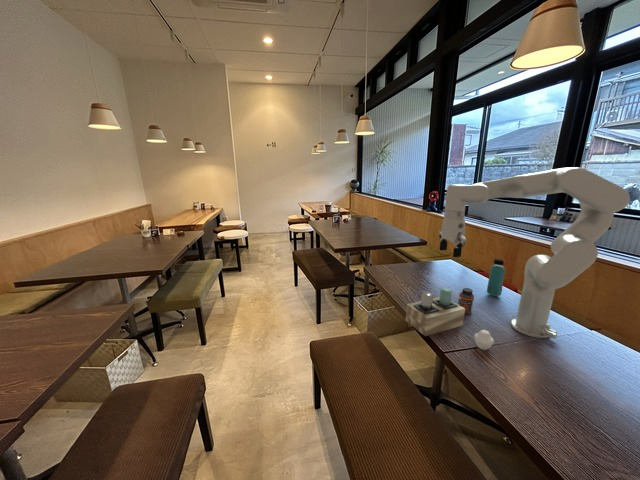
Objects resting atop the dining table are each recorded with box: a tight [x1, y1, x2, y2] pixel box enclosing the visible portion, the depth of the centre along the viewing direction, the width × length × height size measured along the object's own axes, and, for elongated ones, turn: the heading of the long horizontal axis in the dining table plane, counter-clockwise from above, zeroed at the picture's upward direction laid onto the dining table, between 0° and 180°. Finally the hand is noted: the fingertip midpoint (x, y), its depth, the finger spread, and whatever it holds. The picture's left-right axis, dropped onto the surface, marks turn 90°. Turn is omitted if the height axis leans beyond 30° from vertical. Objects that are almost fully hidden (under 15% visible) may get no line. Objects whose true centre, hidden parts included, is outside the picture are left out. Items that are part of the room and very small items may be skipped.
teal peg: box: [439, 287, 453, 307], centre depth 110 cm, size 4×4×8 cm
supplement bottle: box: [457, 287, 475, 315], centre depth 118 cm, size 6×6×11 cm
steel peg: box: [420, 291, 434, 311], centre depth 107 cm, size 4×4×8 cm
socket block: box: [405, 296, 466, 337], centre depth 110 cm, size 12×20×9 cm, turn 110°
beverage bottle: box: [486, 258, 506, 297], centre depth 132 cm, size 6×7×20 cm
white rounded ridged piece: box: [473, 329, 495, 351], centre depth 95 cm, size 6×6×7 cm
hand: (449, 253), depth 112 cm, fingers open, 9 cm apart
